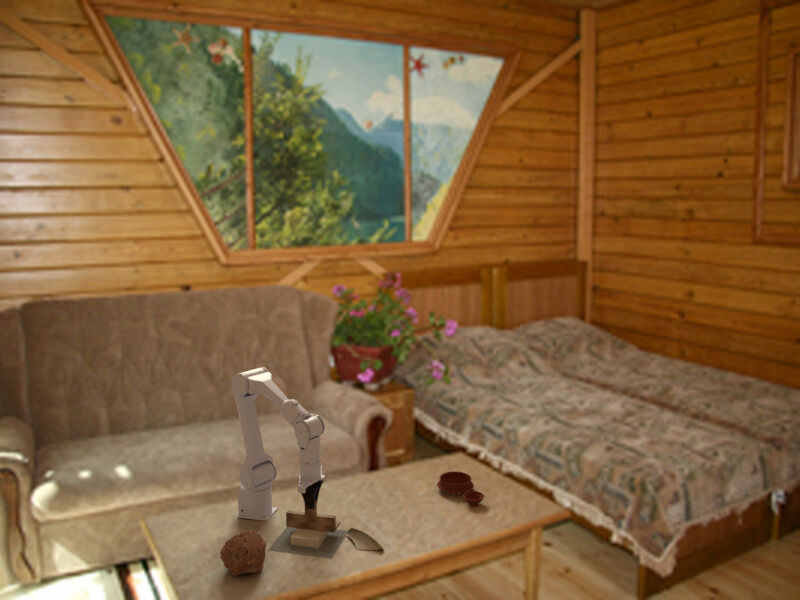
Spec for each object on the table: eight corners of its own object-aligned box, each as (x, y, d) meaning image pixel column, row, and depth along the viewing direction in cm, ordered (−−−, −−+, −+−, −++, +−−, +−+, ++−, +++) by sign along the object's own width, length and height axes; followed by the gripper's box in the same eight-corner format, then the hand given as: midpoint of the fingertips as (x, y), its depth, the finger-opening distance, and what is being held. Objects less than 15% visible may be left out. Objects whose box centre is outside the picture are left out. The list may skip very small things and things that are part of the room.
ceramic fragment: (385, 552, 192) (384, 538, 192) (371, 559, 189) (370, 546, 188) (350, 535, 202) (349, 522, 201) (336, 542, 198) (335, 529, 198)
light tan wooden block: (300, 532, 201) (290, 545, 195) (300, 524, 201) (290, 536, 194) (327, 536, 200) (318, 548, 193) (327, 527, 199) (318, 540, 192)
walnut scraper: (286, 526, 200) (285, 498, 198) (293, 518, 205) (293, 491, 204) (333, 532, 196) (333, 504, 195) (340, 523, 202) (340, 496, 200)
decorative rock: (256, 586, 176) (254, 548, 174) (213, 581, 178) (211, 544, 176) (274, 558, 189) (273, 523, 187) (234, 554, 191) (232, 519, 189)
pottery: (461, 480, 237) (461, 467, 236) (495, 505, 219) (495, 491, 218) (430, 487, 231) (430, 474, 231) (462, 513, 214) (462, 499, 213)
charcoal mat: (268, 550, 192) (268, 550, 192) (289, 524, 207) (289, 523, 207) (331, 559, 188) (331, 558, 188) (348, 531, 203) (348, 530, 203)
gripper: (314, 472, 188) (315, 520, 190) (332, 451, 201) (333, 496, 204) (289, 469, 189) (291, 517, 192) (309, 449, 203) (310, 494, 205)
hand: (311, 506), depth 198 cm, fingers closed on walnut scraper
